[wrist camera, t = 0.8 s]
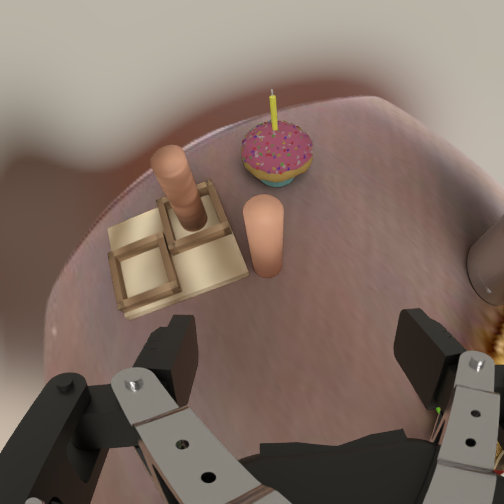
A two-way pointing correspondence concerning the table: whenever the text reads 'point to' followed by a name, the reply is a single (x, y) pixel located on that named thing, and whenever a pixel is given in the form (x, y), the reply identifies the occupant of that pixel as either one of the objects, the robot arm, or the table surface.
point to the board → (173, 243)
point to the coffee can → (499, 462)
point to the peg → (265, 233)
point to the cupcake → (276, 150)
